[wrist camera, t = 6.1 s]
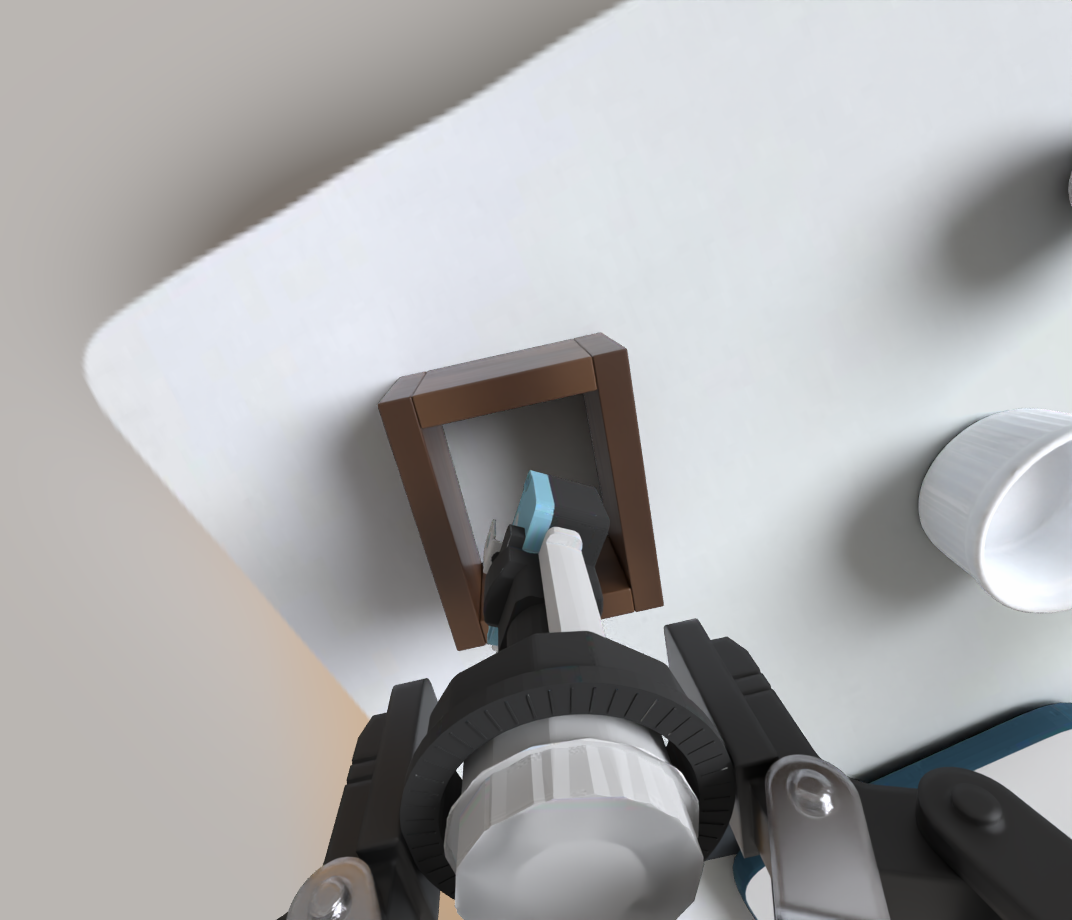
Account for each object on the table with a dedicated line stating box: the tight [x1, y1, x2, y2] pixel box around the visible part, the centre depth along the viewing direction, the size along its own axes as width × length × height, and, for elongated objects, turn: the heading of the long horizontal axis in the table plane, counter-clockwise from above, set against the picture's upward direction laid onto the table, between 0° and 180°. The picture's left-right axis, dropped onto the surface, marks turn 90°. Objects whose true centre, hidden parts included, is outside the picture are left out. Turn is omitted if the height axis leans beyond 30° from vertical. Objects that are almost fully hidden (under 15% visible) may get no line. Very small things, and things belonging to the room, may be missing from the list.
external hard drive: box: [733, 703, 1072, 920], centre depth 33 cm, size 24×12×2 cm, turn 118°
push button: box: [400, 470, 736, 920], centre depth 12 cm, size 7×5×10 cm
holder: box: [377, 333, 664, 651], centre depth 22 cm, size 9×11×4 cm
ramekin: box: [919, 408, 1072, 613], centre depth 24 cm, size 9×9×4 cm
